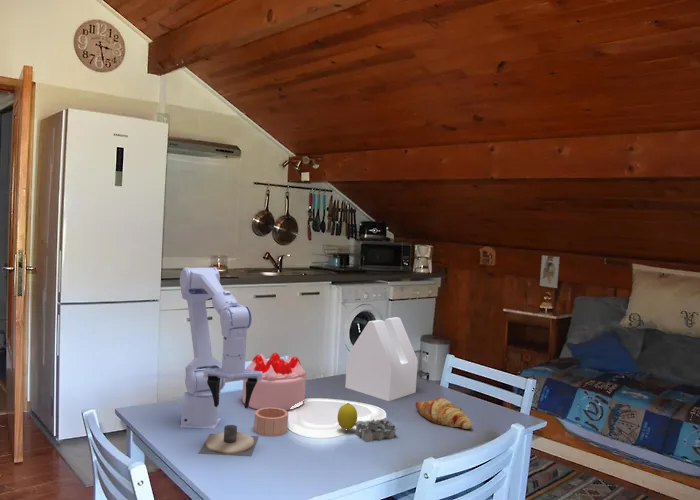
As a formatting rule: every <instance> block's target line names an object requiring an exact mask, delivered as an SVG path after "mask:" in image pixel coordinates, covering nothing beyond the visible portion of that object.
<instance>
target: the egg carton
mask: <svg viewBox="0 0 700 500" xmlns="http://www.w3.org/2000/svg"><path fill="white" fill-rule="evenodd" d="M354 427H356V428H355V435H356V437H361V440H362V441H368V442H372V441H373V440H380V441H381V440H383V439H384V438H388V439H394V437H395V436H396V431H397V430H398V427H396V426H395V424H393V422H391V421H390V420H389V419H388V418H387V417H384V418H381V419H376V420H375V419H372V420H365V421H362V420H361V421H360V420H359V421H358V420H357V422H356V424H355V426H354Z"/></svg>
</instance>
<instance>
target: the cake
mask: <svg viewBox="0 0 700 500" xmlns="http://www.w3.org/2000/svg"><path fill="white" fill-rule="evenodd" d="M245 369H247V370H253V371H262V380H261V381H257V383H256V385H255V387H254V389H253V392H252V395H251V398H250V402H249V407H248V408H251V409H253V410H259V409H261V408H268V407H272V408H280V409H284V410H286V411H290V410H289V409H290V408H291V407H292V406H294V405H295V404H297V403H299V402H301V401H303V400H304V401H305V400H306V399H305V398H306V397H305V396H306V382H307V381H306V378H307V377H306V375H307V373H306V371H305V369H304V368H303V367H302V364H301V362H300V359H299V357H297V356H293V357H292V356H291V354H290V353H289V354H288V357H287V359H283V358H282V357H281V356H280V354H279V353H278V352H274V353H272V354H271V355H270V357H269V358H268V360H267V358H266V357H265V356H264V355H263V353H262V352H260V354H256V355H255V356H254V357H253V359H252V361H251V362H250V364H248V366H247V367H245ZM247 380H248V379H242V396H241V397H242V403H243V404H244V405H245V399H246V382H247Z"/></svg>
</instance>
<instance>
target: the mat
mask: <svg viewBox="0 0 700 500" xmlns="http://www.w3.org/2000/svg"><path fill="white" fill-rule="evenodd" d="M214 434H215V433H209V435H208V437H210V436H211V435H214ZM250 436H251V437H252V438H253V439H254V445H253V447H252V448H251V449H249V450H247V451H245V452H241V453H236V454H221V453H216V452H213V451H210V450H209V449H207V447H206V440H205V442H204V443H203V445H202V446H201V447H200V450H199V451H198V453H197V454H199V455H217V456H218V455H219V456H236V457H237V456H238V457H252V455H253V453H254V451H255V448H256V445H257V443H258V440H259V435H250ZM208 437H207V438H208Z"/></svg>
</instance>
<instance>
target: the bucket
mask: <svg viewBox="0 0 700 500" xmlns="http://www.w3.org/2000/svg"><path fill="white" fill-rule="evenodd" d="M253 418H254V420H253V431H254V432H255V433H256V434H258V435H262V436H265V437H267V436H269V437H273V436H274V437H275V436H276V437H277V436H282V435H284V434H286V433H287V432H288V429H289V427H288V426H289V412H288V410H284V409H280V408H272V407H268V408H261V409H259V410H257V409H255V412H254V417H253Z"/></svg>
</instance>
